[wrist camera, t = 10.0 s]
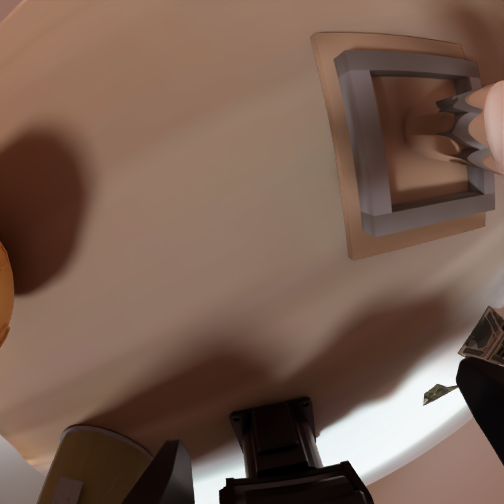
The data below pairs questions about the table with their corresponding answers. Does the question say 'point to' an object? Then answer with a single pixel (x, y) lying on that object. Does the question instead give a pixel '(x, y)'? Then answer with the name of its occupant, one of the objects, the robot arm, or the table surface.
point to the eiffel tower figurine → (478, 348)
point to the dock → (396, 140)
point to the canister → (93, 467)
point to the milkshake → (461, 129)
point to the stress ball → (5, 293)
